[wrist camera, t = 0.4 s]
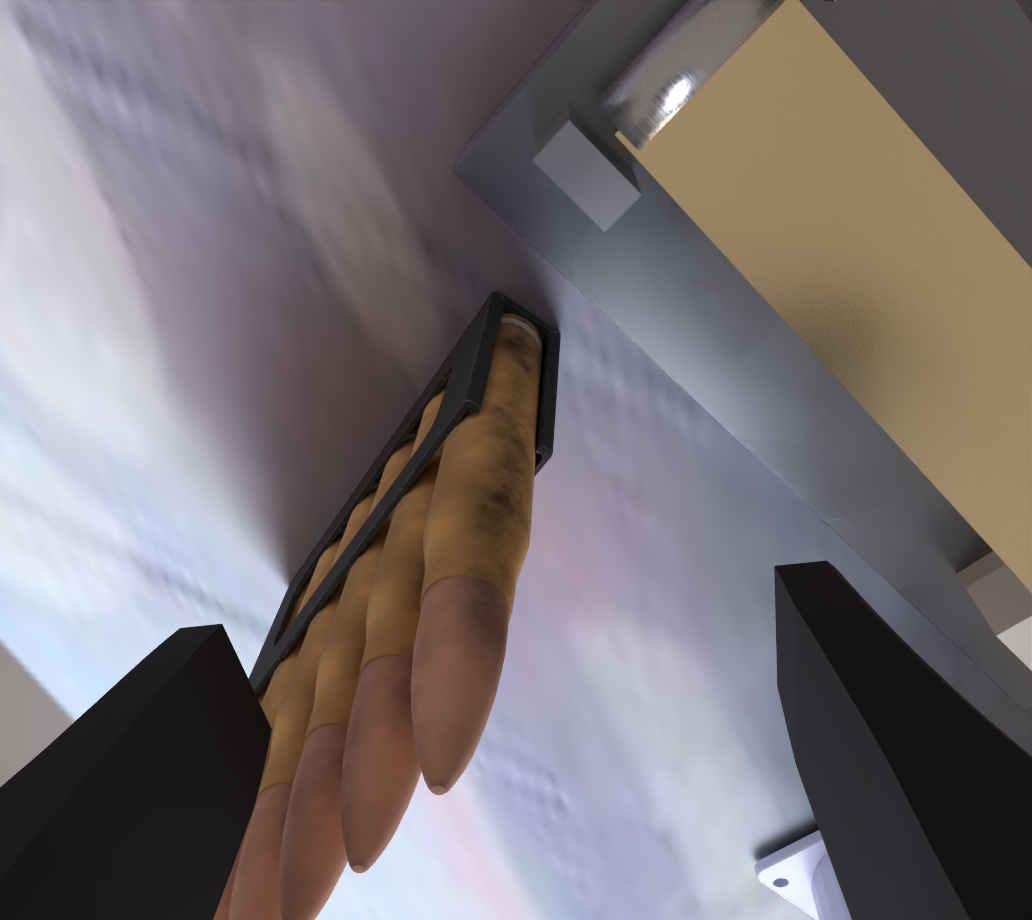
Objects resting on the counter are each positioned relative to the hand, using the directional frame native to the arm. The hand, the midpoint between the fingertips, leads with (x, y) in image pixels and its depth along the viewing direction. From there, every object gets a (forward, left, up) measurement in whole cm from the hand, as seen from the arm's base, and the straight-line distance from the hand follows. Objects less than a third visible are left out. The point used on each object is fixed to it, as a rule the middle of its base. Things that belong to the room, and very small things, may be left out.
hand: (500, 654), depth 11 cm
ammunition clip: (0, +4, -10) cm, 11 cm away
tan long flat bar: (-4, -7, -5) cm, 9 cm away
